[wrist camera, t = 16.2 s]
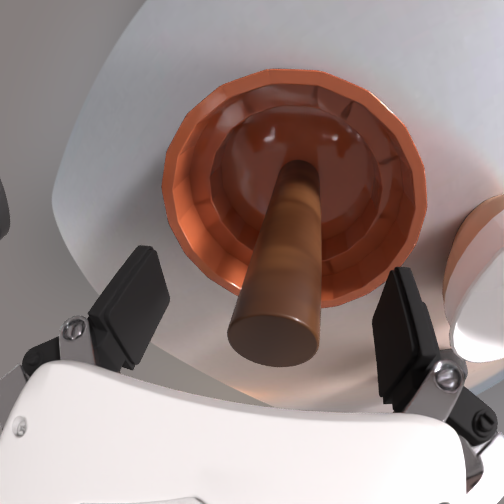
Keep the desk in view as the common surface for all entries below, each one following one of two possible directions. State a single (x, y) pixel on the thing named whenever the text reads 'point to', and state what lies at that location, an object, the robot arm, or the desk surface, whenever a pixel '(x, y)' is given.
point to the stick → (283, 276)
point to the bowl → (477, 285)
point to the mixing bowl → (281, 152)
